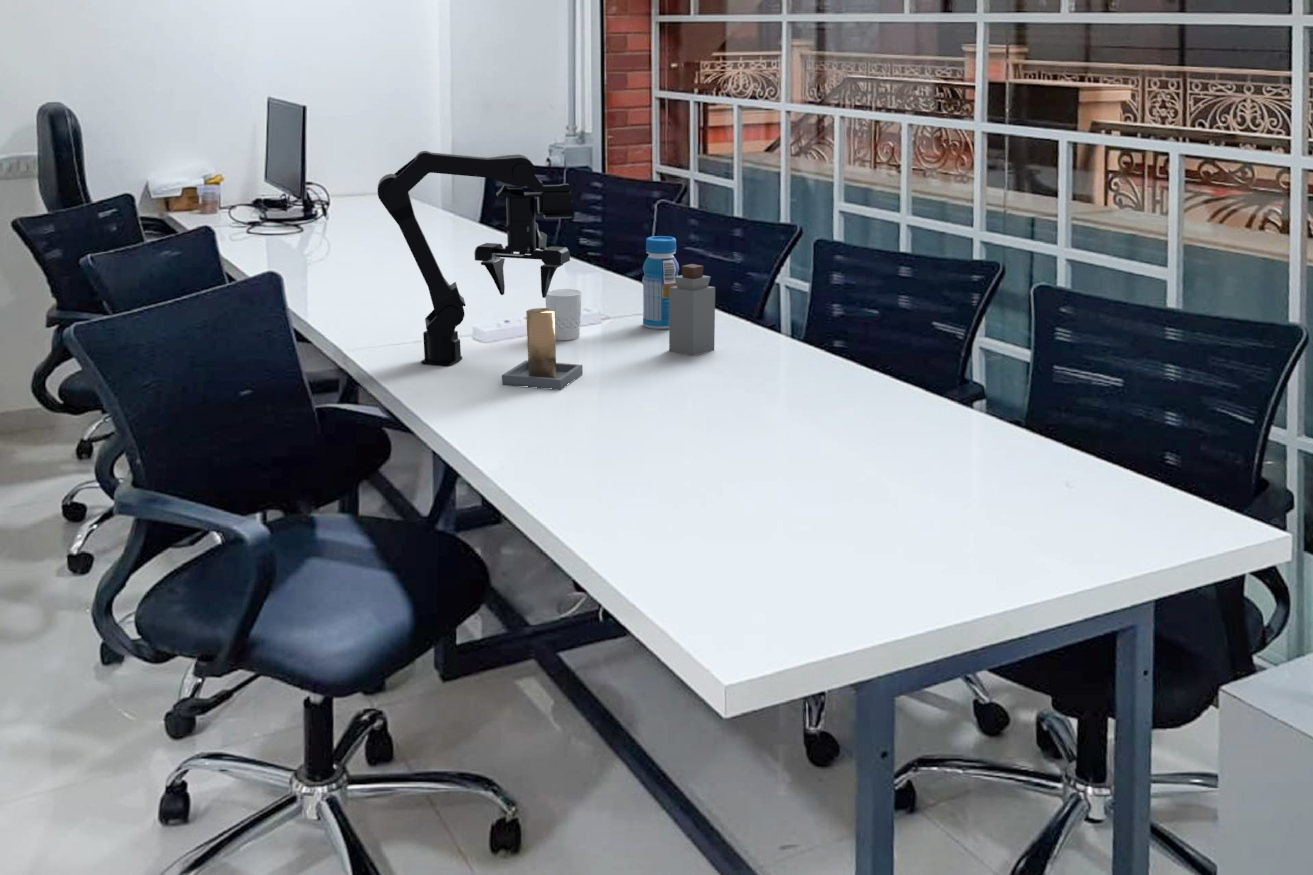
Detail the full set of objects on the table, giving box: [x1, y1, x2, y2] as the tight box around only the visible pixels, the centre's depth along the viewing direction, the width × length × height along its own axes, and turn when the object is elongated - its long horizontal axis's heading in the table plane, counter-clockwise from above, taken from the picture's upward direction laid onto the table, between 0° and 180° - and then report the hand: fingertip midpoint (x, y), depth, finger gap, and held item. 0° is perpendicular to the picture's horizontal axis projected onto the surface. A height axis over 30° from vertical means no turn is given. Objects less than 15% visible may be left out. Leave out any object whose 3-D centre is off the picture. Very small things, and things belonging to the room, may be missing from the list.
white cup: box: [544, 288, 582, 341], centre depth 302 cm, size 8×8×10 cm
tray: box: [501, 359, 584, 391], centre depth 269 cm, size 12×12×2 cm
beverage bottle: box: [641, 235, 680, 330], centre depth 311 cm, size 8×8×20 cm
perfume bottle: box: [668, 263, 716, 357], centre depth 290 cm, size 7×7×18 cm
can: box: [525, 307, 557, 378], centre depth 267 cm, size 5×5×13 cm
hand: (523, 296), depth 282 cm, fingers open, 9 cm apart
